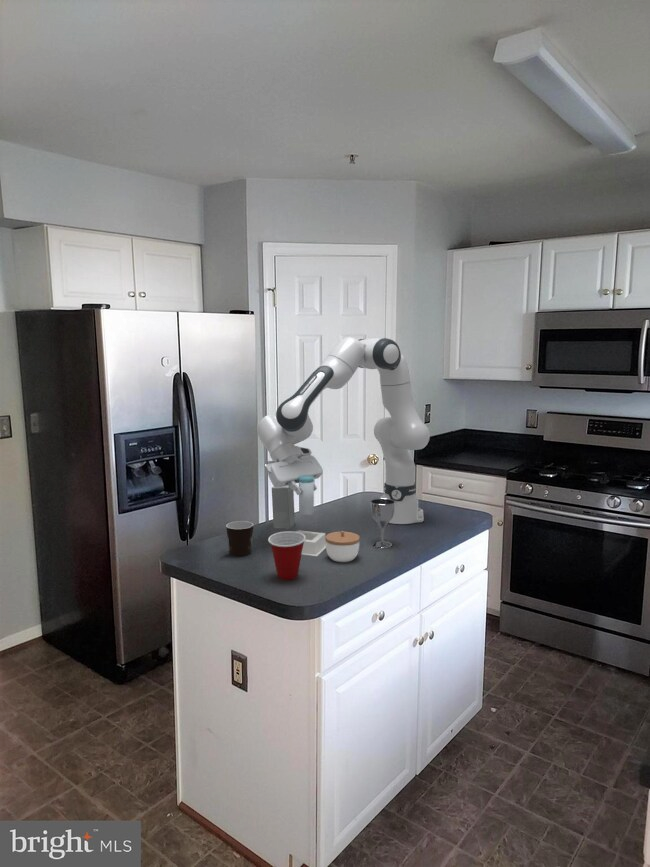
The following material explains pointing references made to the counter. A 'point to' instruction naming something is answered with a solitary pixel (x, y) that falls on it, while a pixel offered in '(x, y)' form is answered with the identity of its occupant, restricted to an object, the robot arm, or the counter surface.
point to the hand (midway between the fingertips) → (307, 491)
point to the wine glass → (382, 517)
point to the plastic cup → (287, 553)
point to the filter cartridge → (306, 495)
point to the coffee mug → (240, 538)
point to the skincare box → (283, 507)
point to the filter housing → (313, 543)
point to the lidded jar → (342, 546)
